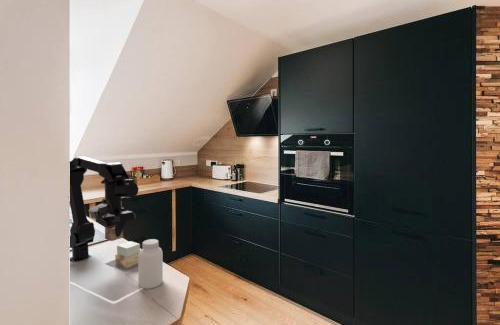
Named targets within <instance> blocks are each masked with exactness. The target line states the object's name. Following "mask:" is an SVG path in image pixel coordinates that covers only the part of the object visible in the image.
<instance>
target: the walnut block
mask: <svg viewBox="0 0 500 325" xmlns="http://www.w3.org/2000/svg"><path fill="white" fill-rule="evenodd" d="M123 238H124V229H123V230H122V232H121V234H120V236H119V237H116V231H115V225H112V226H108V227H106V226H105V227H104V239H105V240H108V241H111V242H114V241H118V240H121V239H123Z"/></svg>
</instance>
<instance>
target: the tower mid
mask: <svg viewBox="0 0 500 325" xmlns="http://www.w3.org/2000/svg"><path fill="white" fill-rule="evenodd" d="M140 250H141V244H140V243H137V242H135V241H130V240H129V241H126V242H124V243H121V244H117V245H116V254H118V255H121V256H124V257H129V256H132V255H134V254H137V253H139V252H140Z"/></svg>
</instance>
